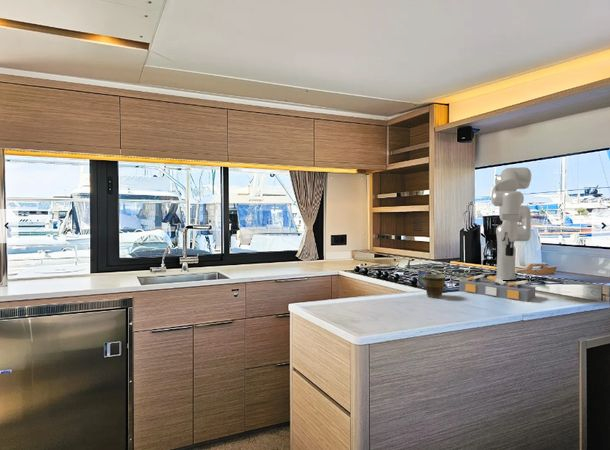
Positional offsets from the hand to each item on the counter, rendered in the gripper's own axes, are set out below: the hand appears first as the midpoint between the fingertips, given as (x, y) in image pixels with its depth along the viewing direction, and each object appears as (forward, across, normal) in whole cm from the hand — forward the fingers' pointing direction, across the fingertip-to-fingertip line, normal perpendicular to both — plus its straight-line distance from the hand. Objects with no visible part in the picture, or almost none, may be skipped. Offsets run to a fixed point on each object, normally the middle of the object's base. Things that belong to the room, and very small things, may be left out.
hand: (509, 255), depth 203 cm
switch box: (+20, +1, -5) cm, 20 cm away
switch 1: (+13, +1, -15) cm, 20 cm away
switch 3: (+13, +1, +5) cm, 14 cm away
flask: (+20, +11, -38) cm, 45 cm away
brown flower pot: (+19, +27, -26) cm, 43 cm away
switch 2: (+13, +1, -5) cm, 14 cm away
